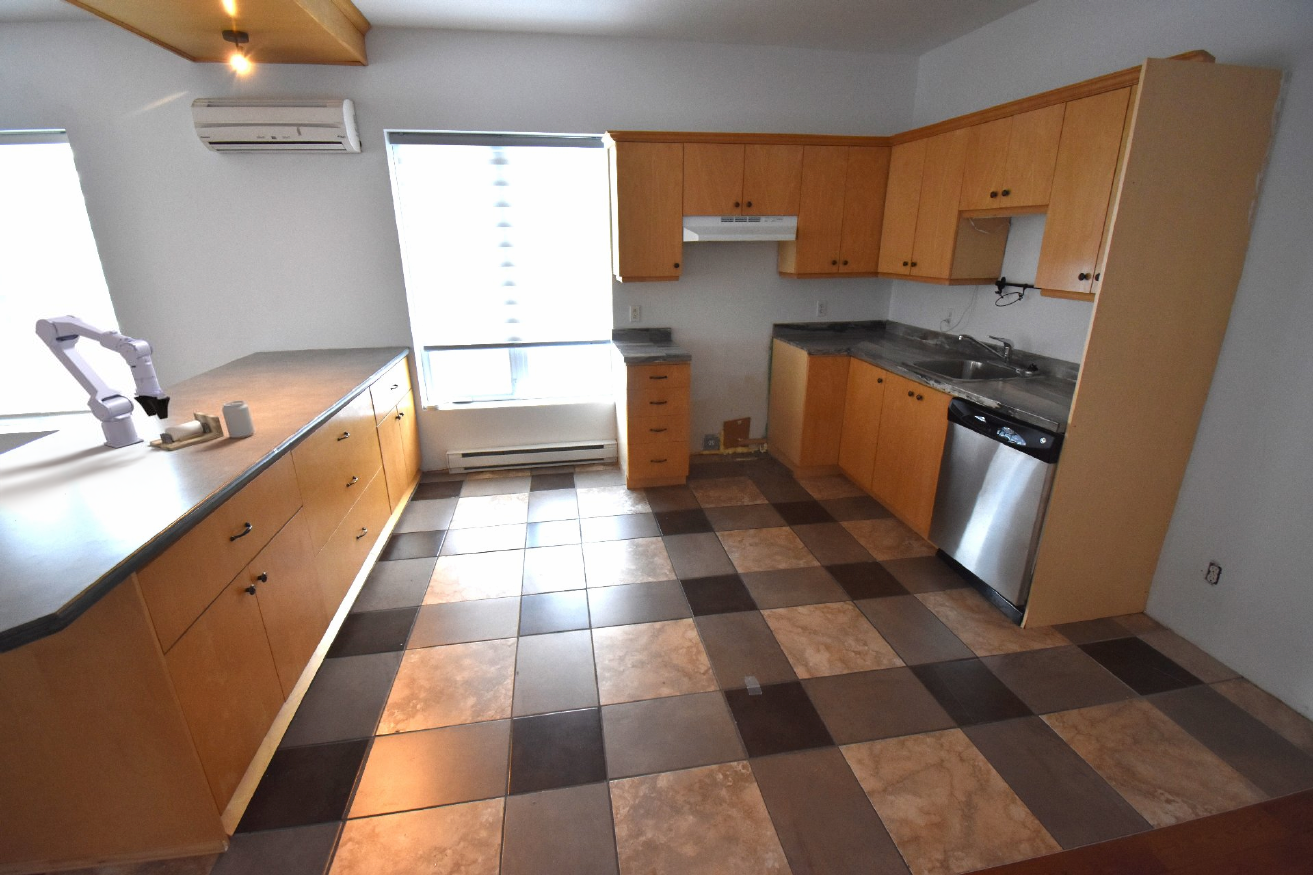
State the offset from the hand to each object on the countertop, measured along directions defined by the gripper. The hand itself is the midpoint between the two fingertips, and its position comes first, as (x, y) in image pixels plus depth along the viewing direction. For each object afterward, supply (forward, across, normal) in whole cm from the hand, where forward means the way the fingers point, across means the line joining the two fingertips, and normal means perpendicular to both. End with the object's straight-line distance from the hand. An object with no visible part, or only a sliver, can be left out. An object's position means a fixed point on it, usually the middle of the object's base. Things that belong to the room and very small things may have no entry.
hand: (158, 417), depth 198 cm
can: (+10, +16, +16) cm, 25 cm away
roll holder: (+9, +3, +5) cm, 11 cm away
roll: (+8, +3, +5) cm, 10 cm away
